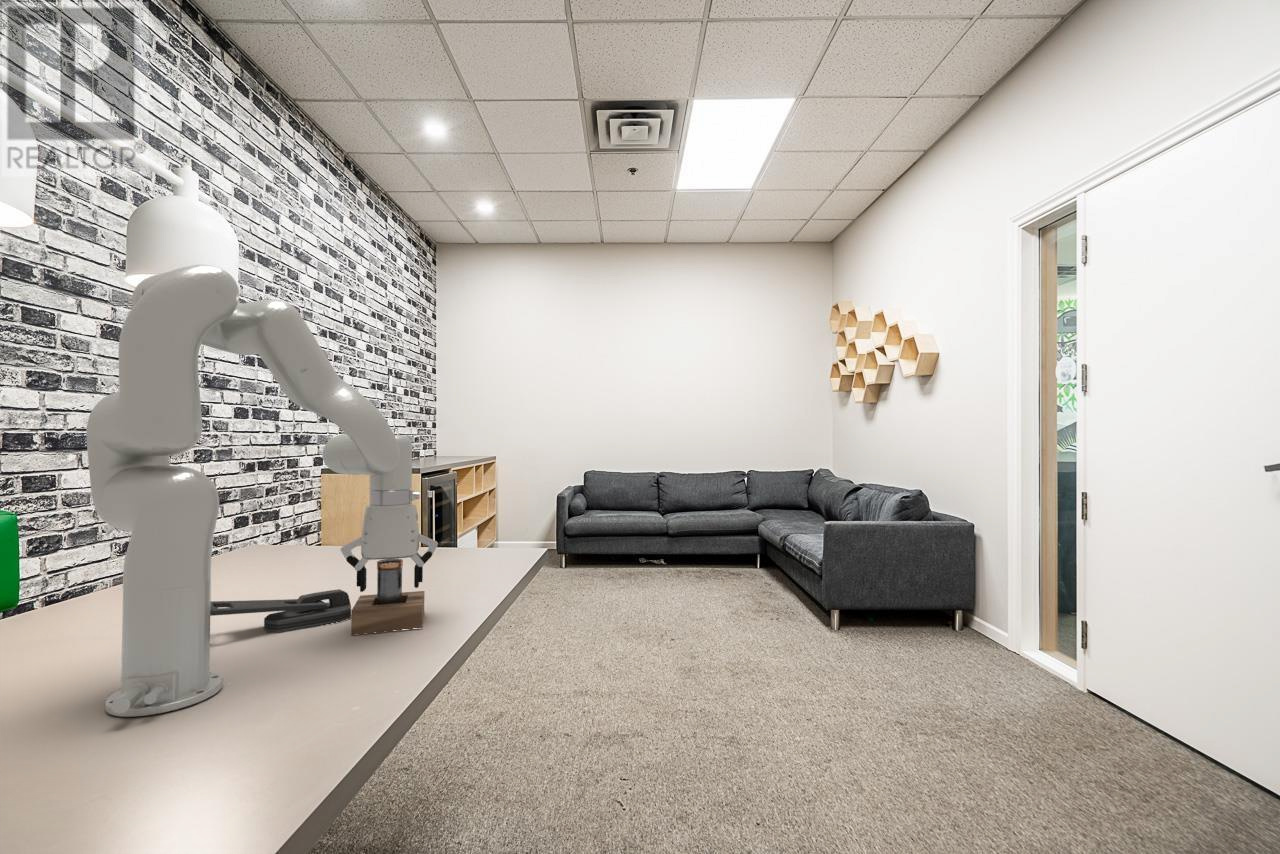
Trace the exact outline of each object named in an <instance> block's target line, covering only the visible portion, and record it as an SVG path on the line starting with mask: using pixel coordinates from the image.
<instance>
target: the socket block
mask: <svg viewBox="0 0 1280 854" xmlns="http://www.w3.org/2000/svg"><path fill="white" fill-rule="evenodd" d="M423 617H424V618H425V590H418V591H408V592H407V591H404V592H403V591H402V603H396V604H384V605H377V594H366V595H365V594H361V595H360V596H359V597H358V599H357V600H356V602H355V604H354V606H353V607H352V608H351V619H350V621H351V623H350V626H351V627H350V628H351V631H350V635H352V636H356V635H355V634H363V635H365V634H364V633H374V632H384V631H393V630H402V629H413V628H422V629H423V625H422V624H424V619H423ZM374 634H375V633H374Z"/></svg>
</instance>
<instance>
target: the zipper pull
mask: <svg viewBox="0 0 1280 854" xmlns="http://www.w3.org/2000/svg"><path fill="white" fill-rule="evenodd" d="M326 600H328V602H325V601H326ZM351 610H352V605H351V599H350V597H349V594H348V592H347V591H344V590H343V589H339V588H338V589H331V590H324V591H317V592H312V593H308V594H301V595H300V596H299V597H298V598H293V599H261V600H260V599H259V600H258V599H257V600H256V599H255V600H252V599H251V600H214V601H212V600H211V606H210V617H212V616H226V615H227V616H229V615H239V614H241V615H243V614H256V613H269V614H268V615H266V616H265V617H264V620H263V630H264V631H265V632H267V633H273V634H282V633H287V632H294V631H300V630H305V629H306V630H307V629H312V628H317V627H321V626H322V625H323V626H327V625H326V624H329V625H332V624H331V623H335V624H337V623H336V622H340V623H342V622H341V621H343V620H346V619H349V618H351ZM273 612H274V613H273ZM349 620H350V619H349ZM346 621H347V620H346ZM343 622H344V621H343Z"/></svg>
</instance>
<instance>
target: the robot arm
mask: <svg viewBox="0 0 1280 854" xmlns="http://www.w3.org/2000/svg"><path fill="white" fill-rule="evenodd" d="M239 300H240V290H239V286H238V284H237V281H236V280H235V277H233V276H232V275H231V274H230V273H229V272H227V271H226V270H225V269H222V268H220V267H218V266H215V265H209V264H194V265H189V266H184V267H180V268H176V269H173V270H170V271H166V272H163V273H159V274H154V275H151V276H149V277H147V278H144V279H143V280H142V281H141V282H139V283H138V284H137V286H136V287H135V288H134V290H133V293H132V297H131V301H132V308H131V309H130V311H129V312H128V315H127V316H126V317H125V320H124V322H123V323H122V324H123V325H122V327H121V330H120V335H119V342H118V382H119V383H118V384H119V389H118V391H115V392H112V393H111V394H107V396H104V397H103V398H102V399H101V400H99V401H98V402H97V403H96V404H95V405H94V407H93V408H92V410H91V412H90V414H89V416H88V419H87V423H86V424H87V425H86V432H85V436H86V449H87V451H86V452H87V459H88V461H87V462H88V473H89V482H90V492H91V498H92V503H93V506H94V508H95V509H94V510H95V511H96V513H97V516H99V517H100V519H101V520H102V521H104V523H106V524H107V525H109V526H111V527H112V528H114V529H118V530H121V531H126V532H131V534H130V538H129V542H128V544H127V545H128V546H127V550H126V552H125V557H124V563H123V569H122V626H121V627H122V631H121V632H122V633H121V674H120V675H121V677H120V678H121V680H120V681H121V683H120V684H121V685H120V687H121V688H120V689H119V690H117V691H115V692H113V693H112V694H111V695H109V696H108V697H107V698H106V699H105V703H104V704H105V705H104V709H105V710H104V711H105V712H106V713H107V714H109V715H112V716H115V717H122V718H124V717H125V718H126V717H129V718H130V717H131V718H133V717H143V716H144V717H145V716H151V715H152V716H153V715H157V714H163V713H167V712H168V713H169V712H172V711H176V710H179V709H182V708H183V709H184V708H186V707H190V706H193V705H195V704H197V703H200V702H202V701H205V700H207V699H209V698H211V697H212V696H214V695H216V694H217V693H219V691H220V690H221V689H222V688H223V685H224V678H223V676H222V674H219V673H217V672H212V671H210V668H211V667H210V665H211V664H210V663H211V662H210V661H211V659H210V658H211V653H210V652H211V616H210V606H211V601H212V600H211V598H212V597H211V596H212V595H211V593H212V591H211V590H212V589H211V588H212V575H211V574H212V551H213V543H214V536H215V535H214V534H215V530H216V525H217V522H218V521H217V520H218V516H219V510H220V497H219V491H218V489H217V488H216V485H215V483H214V482H213V481H212V480H211V479H210V478H209V477H208V476H207V475H205V473H203V472H201V471H199V470H196V469H194V468H191V467H187V466H180V465H170V463H171V461H170V456H176V455H180V454H183V453H185V452H187V451H189V450H191V449H193V448H194V447H195V446H196V444H197V443H198V442H199V441H200V439H201V436H202V434H203V415H202V404H201V393H200V392H201V391H200V381H199V380H200V379H199V378H200V377H199V354H200V348H201V346H202V345H203V346H205V347H208V348H212V349H216V350H219V351H222V352H227V353H230V354H235V355H241V356H252V355H253V356H254V355H259V357H260V358H261V360H262V361H263V363H264V364H265V367H267V368H268V371H270V373H271V374H272V376H273V378H274V379H275V380H276V381H277V383H278V386H280V388H281V390H282V392H284V394H285V395H286V397H287V398H288V400H289V401H291V402H292V403H293V404H295V405H297V406H299V407H300V408H302V409H303V410H305V411H309V412H310V413H313V414H315V415H318V416H319V417H320V416H321V417H322V418H325V419H326V420H328V421H330V422H331V423H333V424H335V425H336V426H337V427H338V428H340V429H341V431H343V432H344V433H343V434H340V435H339V434H338V435H336V436H334V437H332V438H331V439H330V440H328V441H327V442H326V444H325V445H324V447H323V450H322V459H323V462H324V464H325V465H326V467H328V469H330V470H331V471H333V472H334V473H337V474H340V475H345V476H346V475H349V476H354V475H355V476H359V475H362V476H364V475H365V476H369V505H368V506H365V510H364V515H363V522H362V530H361V536H360V537H358V538H356V539H354V540H352V541H350V542H349V543H346V544H345V545H343V546H341V548H340V552H341V553H342V555H343V556H344V559H345V560H346V562H347V563H348V564H349V565H350V566H351V567H353V568H354V570H355V571H356V587H357V588H358V587H359V592H360V593H363V592H365V591H366V589H367V568H366V564H367V563H368V562H369V561H373V560H385V559H407V558H410V559H411V560H412V562H414V564H415V565H414V571H413V572H414V573H413V574H414V581H413V582H414V583H413V585H414V586H413V587H414V588H415V589H419V586H420V585H419V584H420V583H423V580H424V579H423V576H424V575H423V571H424V569H423V566H424V565H425V564H426V563H427V562H428V561H429V560H430V559H431V558H432V556H434V555H433V554H434V553H435V551H436V549H437V548H438V545H439V543H438V541H437V540H434V539H432V538H429V537H427V536H426V535H423V534H421V533H420V532H419V516H418V515H419V514H418V509H417V506H416V504H412V502H414V501H415V500H420V492H419V491H418V492H416V491H414V490H413V487H412V485H413V484H412V483H413V479H412V478H413V464H412V463H413V442H412V439H411V437H409V436H407V435H400V434H396V435H395V433H394V431H393V430H392V428H391V426H390V425H389V423H388V421H387V420H386V418H385V417H384V415H383V413H382V412H381V411H380V410H379V408H378V407H376V406H375V404H374V403H372V402H371V401H370V400H369V399H368V398H366V397H365V396H364V395H363V394H362V393H360V391H358V390H357V389H355V388H354V387H353V386H352V385H351V384H349V383H348V382H346V381H345V380H344V379H343V378H342V377H340V375H338V373H337V372H336V370H335V369H334V367H333V365H332V363H331V362H330V360H329V358H328V357H327V356H326V353H325V352H324V351H323V348H322V347H321V345H320V344H319V343H318V340H317V339H316V337H315V335H314V334H313V332H312V331H311V329H310V327H309V326H308V324H307V322H306V321H305V320H304V318H303V317H302V315H301V313H300V312H299V310H298V309H297V308H296V307H295V306H293V305H292V304H291V303H289V302H287V301H285V300H281V299H275V298H274V299H261V300H255V301H249V302H243V303H242V302H239ZM420 543H421V544H424V545H426V546H428V549H427V550H426V552H425V553H424V554H423V555H422V556H421V555H420V553H419V552H418V551H419V549H420ZM360 545H361V547H360V553H361V554H360V555H361V558H360V559H358V558H357V557H356V556H355V555H354V554H353V553H352V550H354V549H355V548H357V547H358V546H360Z"/></svg>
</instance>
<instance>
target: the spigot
mask: <svg viewBox="0 0 1280 854" xmlns="http://www.w3.org/2000/svg"><path fill="white" fill-rule="evenodd" d="M403 561H404V560H403V558H395V559H379V560H378V561H376V570H377V573H376V574H377V577H376V578H377V579H376V582H377V584H376V585H377V586H376V591H377V605H384V604H396V603H402V593H403V567H404V565H403V564H404V562H403Z"/></svg>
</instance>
